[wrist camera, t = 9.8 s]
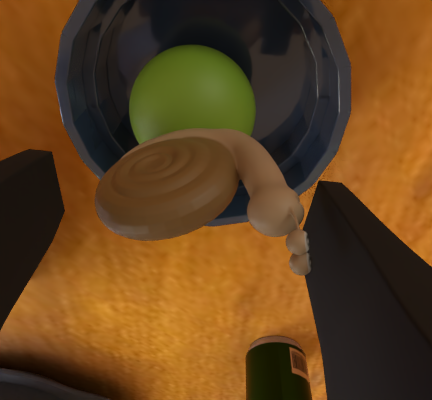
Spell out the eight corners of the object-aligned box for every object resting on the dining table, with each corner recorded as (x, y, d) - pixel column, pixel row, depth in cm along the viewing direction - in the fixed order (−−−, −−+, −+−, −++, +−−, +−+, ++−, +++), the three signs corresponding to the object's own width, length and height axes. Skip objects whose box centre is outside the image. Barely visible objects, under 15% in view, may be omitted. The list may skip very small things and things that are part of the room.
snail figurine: (280, 124, 19) (322, 332, 9) (164, 146, 20) (93, 350, 10) (265, 11, 15) (304, 149, 6) (127, 46, 17) (-24, 206, 7)
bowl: (298, 191, 22) (308, 237, 19) (102, 171, 22) (79, 213, 18) (367, -46, 14) (403, -37, 11) (71, -79, 14) (23, -81, 11)
